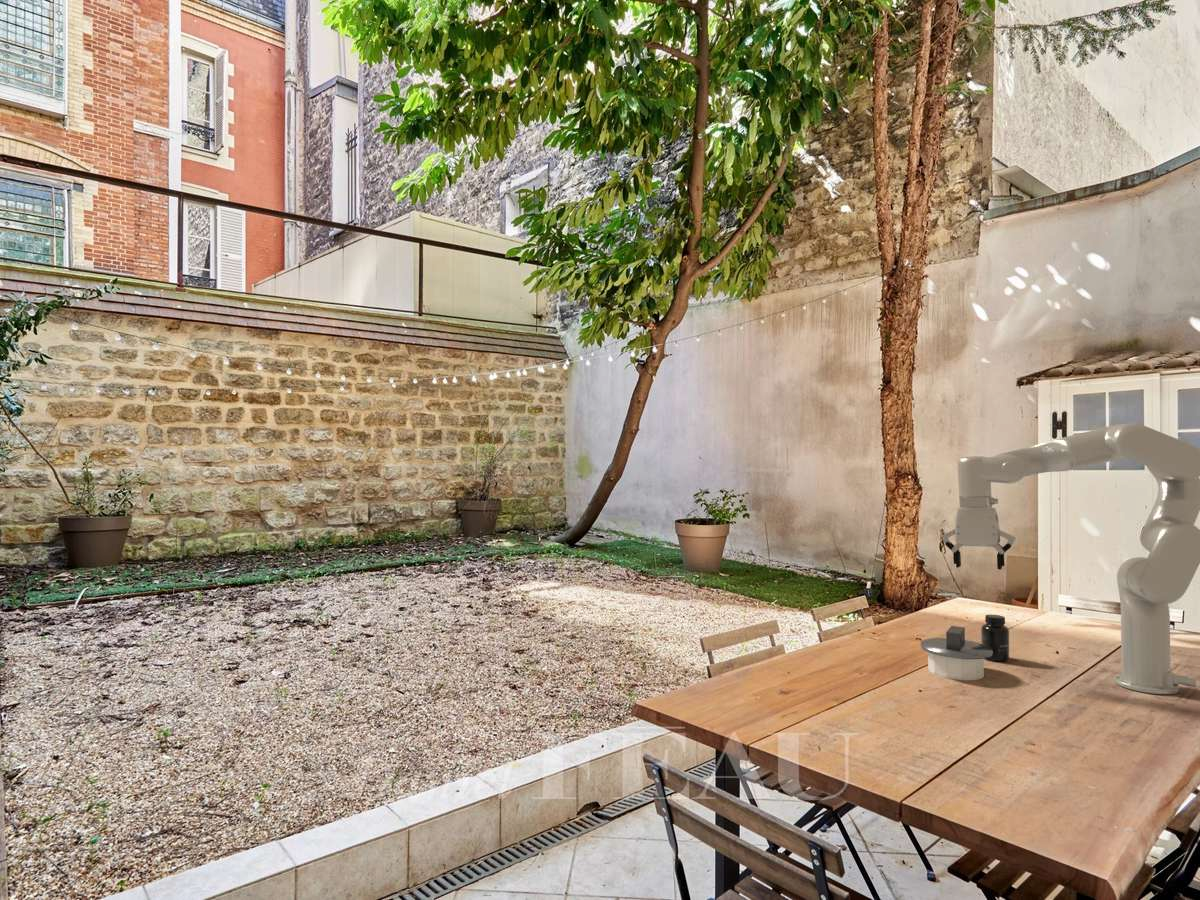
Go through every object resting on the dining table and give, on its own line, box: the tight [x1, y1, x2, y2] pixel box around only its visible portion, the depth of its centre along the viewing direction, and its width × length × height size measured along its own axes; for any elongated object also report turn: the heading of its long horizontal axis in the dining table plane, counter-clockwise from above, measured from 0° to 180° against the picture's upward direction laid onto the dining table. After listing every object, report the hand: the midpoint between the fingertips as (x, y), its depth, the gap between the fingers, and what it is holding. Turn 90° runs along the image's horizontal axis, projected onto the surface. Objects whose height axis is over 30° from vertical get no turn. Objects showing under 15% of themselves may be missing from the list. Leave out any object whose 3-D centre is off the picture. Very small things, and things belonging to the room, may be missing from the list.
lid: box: [920, 625, 993, 660], centre depth 183 cm, size 17×17×5 cm
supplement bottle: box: [980, 614, 1010, 663], centre depth 193 cm, size 7×7×12 cm
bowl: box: [927, 652, 985, 681], centre depth 182 cm, size 13×13×6 cm
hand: (978, 567), depth 182 cm, fingers open, 9 cm apart
